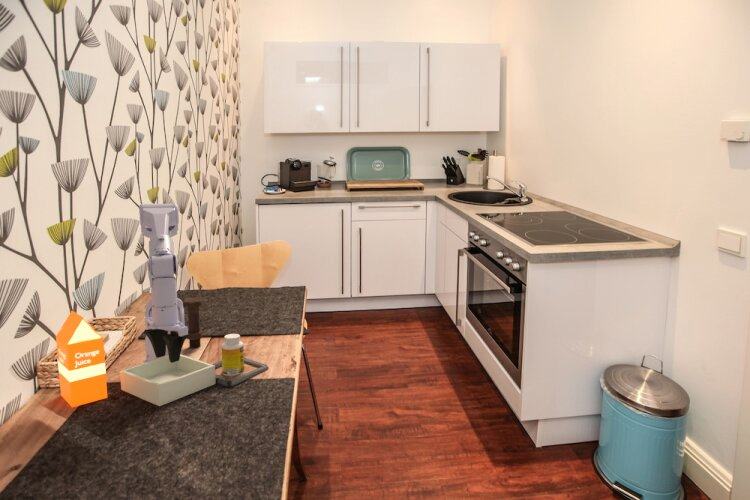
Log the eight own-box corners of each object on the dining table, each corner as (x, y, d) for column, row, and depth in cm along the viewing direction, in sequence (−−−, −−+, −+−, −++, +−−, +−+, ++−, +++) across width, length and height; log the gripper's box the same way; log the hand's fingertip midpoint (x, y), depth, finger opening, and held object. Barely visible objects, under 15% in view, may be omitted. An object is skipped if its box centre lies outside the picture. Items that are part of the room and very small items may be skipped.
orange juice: (95, 386, 131) (89, 307, 128) (108, 397, 124) (102, 314, 121) (60, 395, 125) (52, 313, 122) (71, 407, 119) (63, 321, 116)
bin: (121, 389, 129) (119, 370, 128) (177, 370, 141) (176, 352, 141) (159, 406, 120) (158, 386, 119) (215, 383, 133) (214, 365, 132)
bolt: (202, 352, 155) (199, 302, 153) (184, 352, 155) (181, 302, 152) (205, 345, 161) (203, 297, 159) (188, 346, 160) (186, 297, 158)
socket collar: (195, 375, 138) (195, 370, 138) (236, 360, 149) (236, 355, 148) (230, 387, 130) (230, 382, 130) (270, 371, 141) (270, 365, 141)
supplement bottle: (244, 376, 137) (242, 338, 136) (221, 378, 136) (220, 339, 135) (244, 368, 143) (243, 332, 141) (223, 370, 142) (221, 333, 140)
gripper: (131, 303, 128) (135, 357, 130) (168, 312, 120) (171, 370, 122) (158, 297, 134) (161, 349, 136) (194, 306, 126) (196, 361, 128)
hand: (167, 358), depth 130 cm, fingers open, 5 cm apart
